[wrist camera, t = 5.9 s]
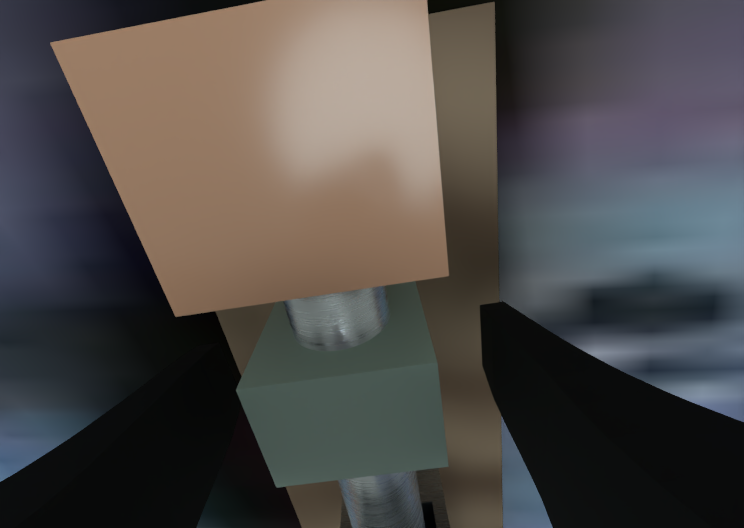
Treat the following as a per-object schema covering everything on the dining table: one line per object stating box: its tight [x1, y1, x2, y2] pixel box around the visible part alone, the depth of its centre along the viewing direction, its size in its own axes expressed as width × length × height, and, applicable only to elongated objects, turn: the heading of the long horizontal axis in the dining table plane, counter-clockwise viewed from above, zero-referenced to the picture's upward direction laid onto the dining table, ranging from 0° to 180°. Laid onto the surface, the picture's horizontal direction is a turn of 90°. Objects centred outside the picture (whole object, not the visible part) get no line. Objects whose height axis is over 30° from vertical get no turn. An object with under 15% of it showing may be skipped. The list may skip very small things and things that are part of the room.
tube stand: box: [50, 0, 503, 528], centre depth 12 cm, size 24×10×7 cm, turn 9°
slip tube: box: [236, 281, 449, 528], centre depth 10 cm, size 16×4×4 cm, turn 9°
